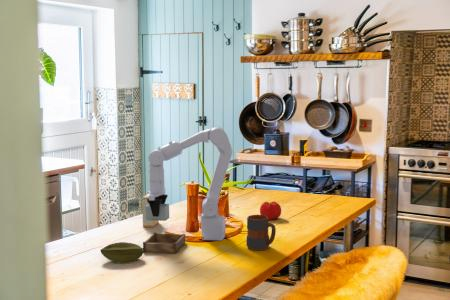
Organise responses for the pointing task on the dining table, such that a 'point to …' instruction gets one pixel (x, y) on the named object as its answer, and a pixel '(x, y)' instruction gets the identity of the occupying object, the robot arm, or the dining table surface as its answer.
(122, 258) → the fruit
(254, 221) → the mug
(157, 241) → the walnut crate
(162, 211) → the grey crate
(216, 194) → the robot arm
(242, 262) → the dining table surface
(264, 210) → the tomato
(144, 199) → the supplement box
